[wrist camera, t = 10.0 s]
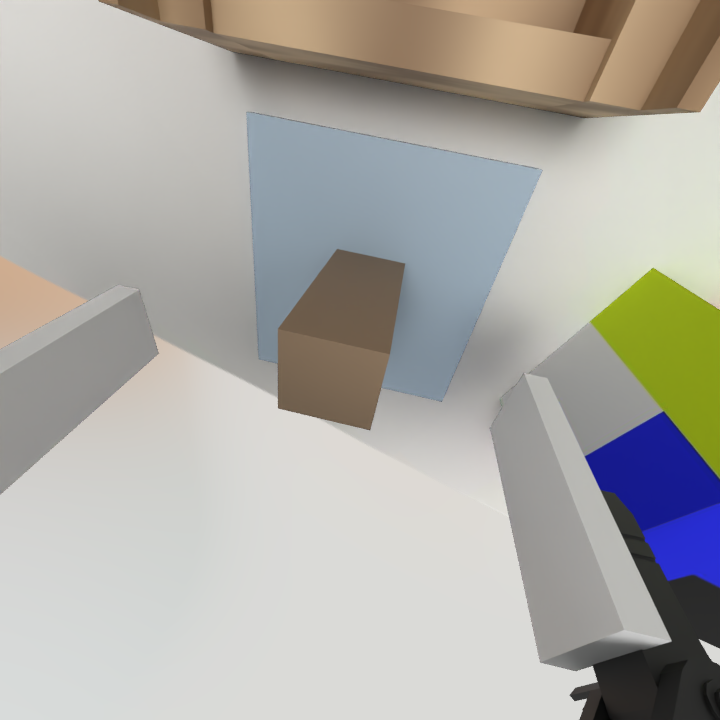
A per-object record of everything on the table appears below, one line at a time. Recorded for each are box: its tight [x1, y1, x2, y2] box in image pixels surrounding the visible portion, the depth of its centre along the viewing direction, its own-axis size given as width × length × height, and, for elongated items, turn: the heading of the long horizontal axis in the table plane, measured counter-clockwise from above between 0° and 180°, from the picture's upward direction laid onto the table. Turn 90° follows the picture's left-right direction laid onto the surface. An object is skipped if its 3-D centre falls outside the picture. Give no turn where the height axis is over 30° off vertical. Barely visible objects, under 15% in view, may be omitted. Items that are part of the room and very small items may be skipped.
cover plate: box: [247, 112, 542, 430], centre depth 14 cm, size 12×13×9 cm
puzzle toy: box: [500, 268, 720, 648], centre depth 14 cm, size 10×10×10 cm
